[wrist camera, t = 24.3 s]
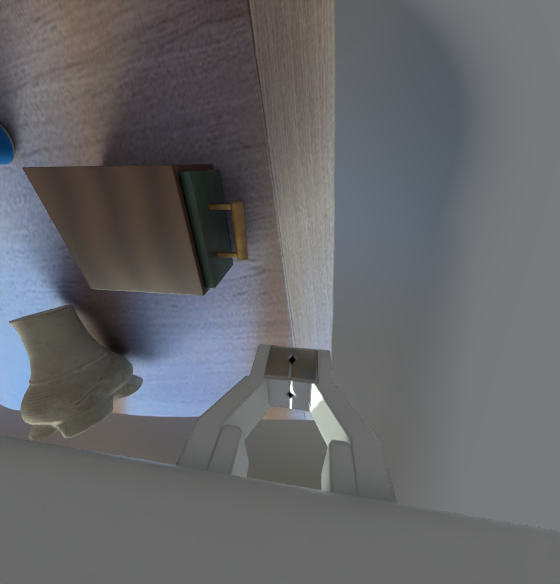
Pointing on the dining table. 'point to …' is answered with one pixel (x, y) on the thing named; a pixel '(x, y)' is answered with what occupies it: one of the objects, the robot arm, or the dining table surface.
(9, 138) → the beverage can
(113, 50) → the dining table surface
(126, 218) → the cabinet
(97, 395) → the vase
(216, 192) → the drawer
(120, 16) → the dining table surface
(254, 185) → the dining table surface
